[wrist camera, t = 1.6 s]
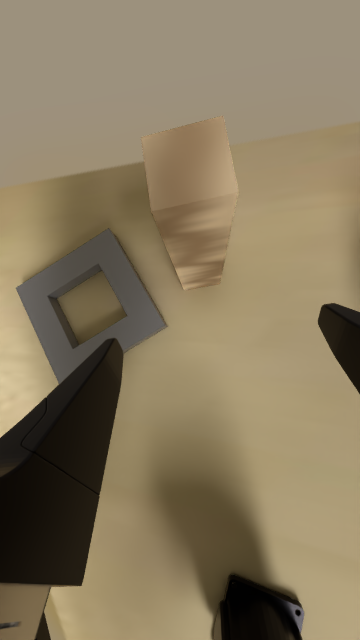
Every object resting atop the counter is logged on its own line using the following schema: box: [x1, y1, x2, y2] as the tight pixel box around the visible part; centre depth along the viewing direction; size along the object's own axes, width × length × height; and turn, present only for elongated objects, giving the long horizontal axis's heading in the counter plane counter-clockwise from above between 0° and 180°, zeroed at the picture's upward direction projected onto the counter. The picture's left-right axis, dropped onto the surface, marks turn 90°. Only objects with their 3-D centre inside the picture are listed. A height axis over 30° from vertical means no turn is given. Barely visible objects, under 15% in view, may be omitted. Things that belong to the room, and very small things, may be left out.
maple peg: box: [141, 116, 239, 290], centre depth 17 cm, size 4×4×14 cm
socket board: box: [16, 228, 168, 384], centre depth 24 cm, size 13×13×2 cm
